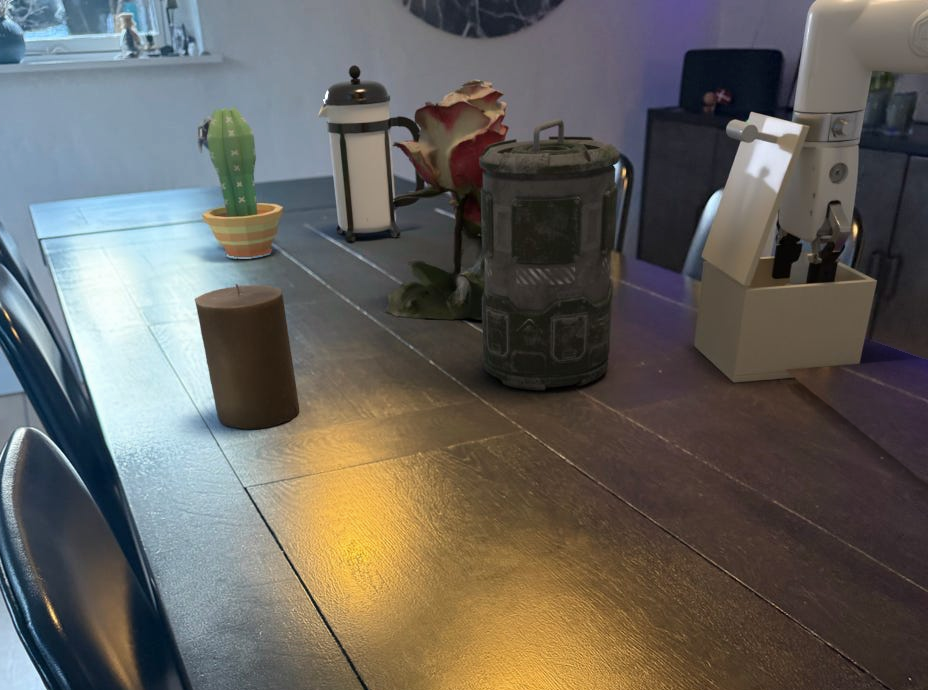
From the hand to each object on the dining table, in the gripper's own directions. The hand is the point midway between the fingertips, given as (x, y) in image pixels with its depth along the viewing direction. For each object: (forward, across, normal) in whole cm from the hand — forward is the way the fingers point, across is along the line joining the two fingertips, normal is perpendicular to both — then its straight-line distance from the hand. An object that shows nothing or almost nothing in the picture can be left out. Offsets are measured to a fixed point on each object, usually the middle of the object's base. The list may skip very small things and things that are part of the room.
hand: (800, 287), depth 114 cm
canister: (+9, +2, +31) cm, 32 cm away
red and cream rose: (+9, +38, +33) cm, 51 cm away
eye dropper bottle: (+8, 0, 0) cm, 8 cm away
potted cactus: (+8, +83, +74) cm, 112 cm away
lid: (-10, 0, +7) cm, 13 cm away
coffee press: (+8, +94, +49) cm, 106 cm away
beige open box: (+9, 0, +2) cm, 9 cm away
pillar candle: (+8, -5, +67) cm, 68 cm away
